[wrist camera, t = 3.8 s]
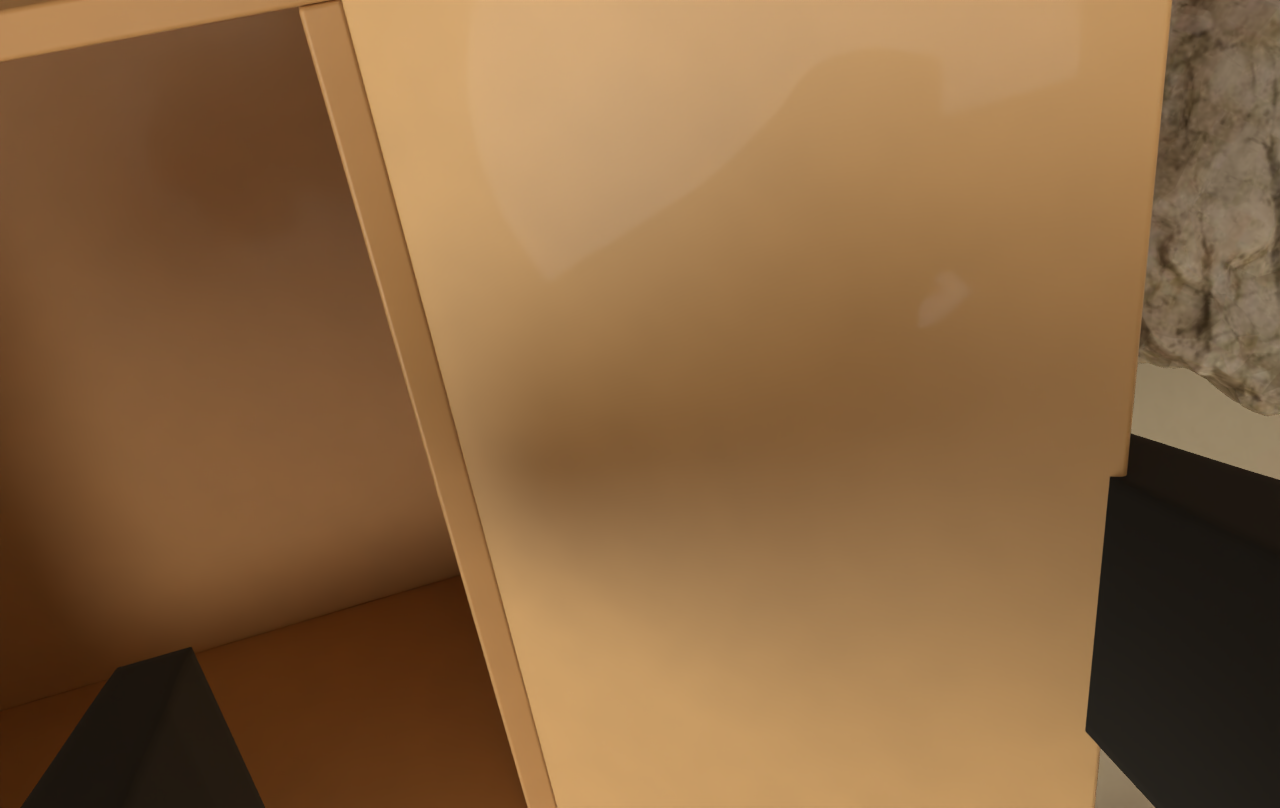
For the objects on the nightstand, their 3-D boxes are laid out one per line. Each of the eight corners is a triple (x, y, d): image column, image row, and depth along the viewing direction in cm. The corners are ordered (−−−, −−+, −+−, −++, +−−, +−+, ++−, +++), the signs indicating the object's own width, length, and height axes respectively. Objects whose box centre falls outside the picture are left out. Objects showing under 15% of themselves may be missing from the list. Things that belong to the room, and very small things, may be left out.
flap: (329, -38, 9) (350, -43, 9) (576, 884, 14) (585, 865, 14) (1187, -148, 6) (1184, -151, 6) (1073, 1022, 12) (1075, 996, 12)
